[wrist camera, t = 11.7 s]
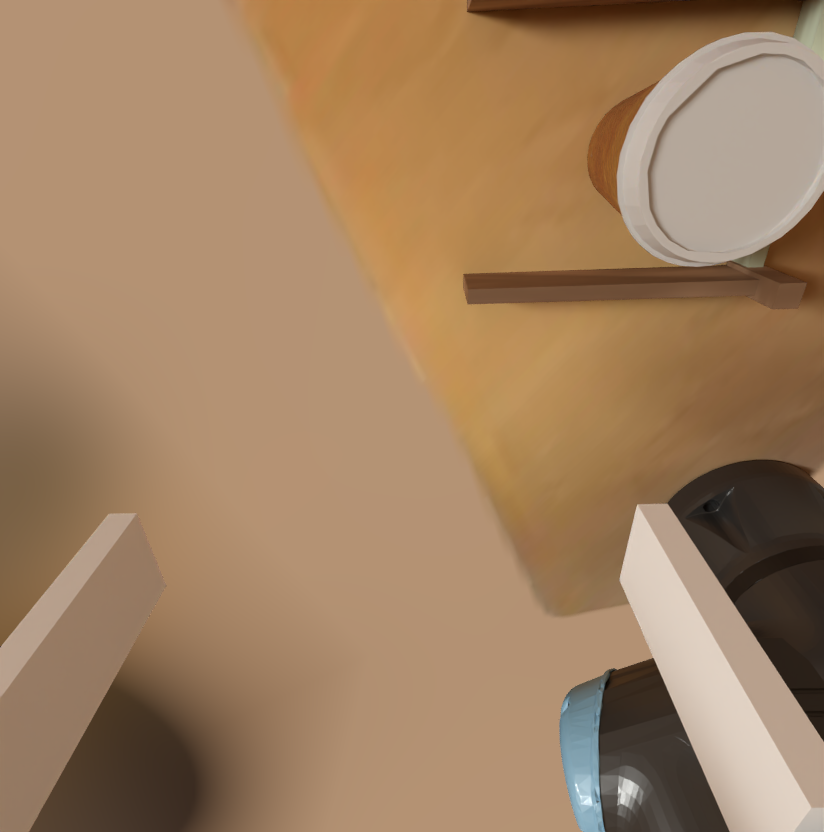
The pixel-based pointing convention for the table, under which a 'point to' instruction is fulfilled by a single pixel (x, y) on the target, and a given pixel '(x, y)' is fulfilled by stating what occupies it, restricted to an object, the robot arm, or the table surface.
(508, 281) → the bay
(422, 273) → the table surface
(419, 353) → the table surface
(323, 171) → the table surface
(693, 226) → the disposable coffee cup
